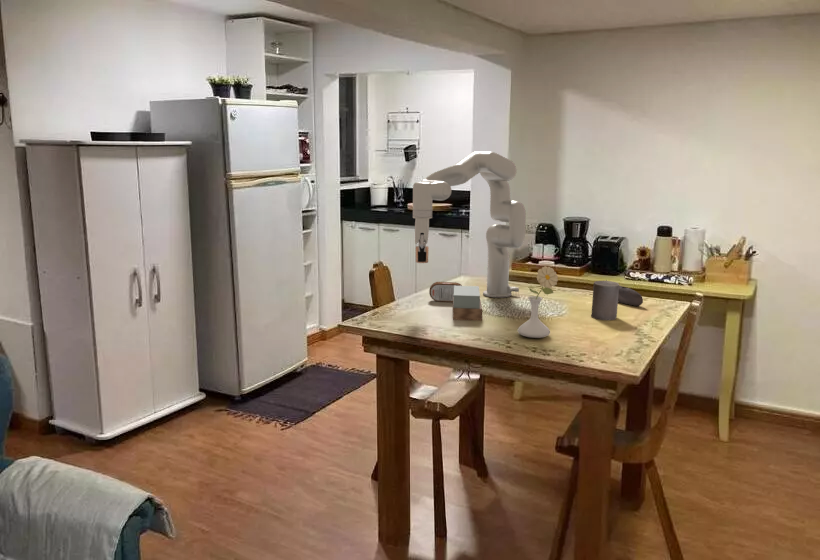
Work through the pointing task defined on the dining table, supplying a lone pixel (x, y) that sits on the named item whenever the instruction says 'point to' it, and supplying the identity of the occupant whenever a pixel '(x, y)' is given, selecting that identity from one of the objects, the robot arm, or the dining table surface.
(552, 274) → the flower in vase
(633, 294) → the perforated stone tool
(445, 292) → the tin
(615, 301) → the pillar candle
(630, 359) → the dining table surface
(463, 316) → the tower base
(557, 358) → the dining table surface
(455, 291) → the tower top
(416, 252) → the column
